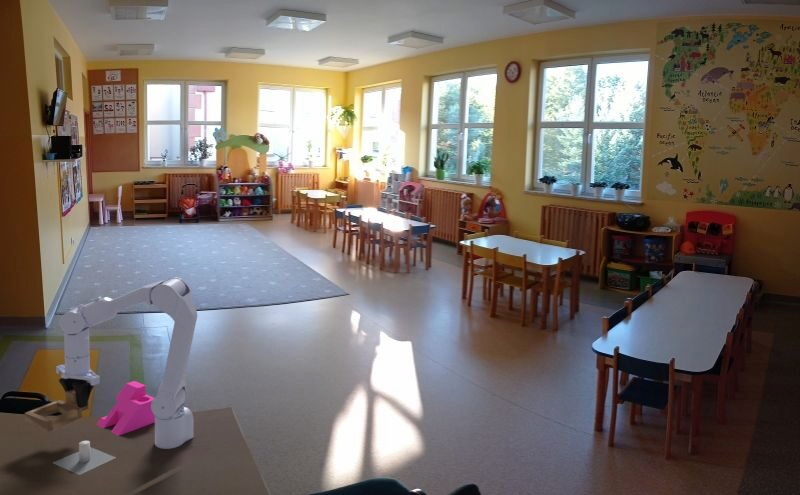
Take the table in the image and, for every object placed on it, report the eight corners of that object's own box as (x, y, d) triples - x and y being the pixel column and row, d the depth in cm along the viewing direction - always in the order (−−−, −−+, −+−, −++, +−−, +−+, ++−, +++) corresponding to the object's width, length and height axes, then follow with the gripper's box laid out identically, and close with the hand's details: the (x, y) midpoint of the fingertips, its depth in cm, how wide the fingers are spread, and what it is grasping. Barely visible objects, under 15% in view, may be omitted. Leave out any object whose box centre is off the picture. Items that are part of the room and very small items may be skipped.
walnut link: (73, 403, 168) (72, 383, 166) (96, 411, 163) (95, 391, 162) (25, 422, 156) (23, 401, 155) (48, 431, 152) (46, 410, 151)
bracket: (134, 414, 182) (134, 380, 181) (156, 425, 177) (156, 390, 175) (95, 428, 172) (94, 393, 171) (117, 440, 167) (116, 403, 165)
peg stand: (89, 450, 160) (89, 430, 159) (116, 461, 156) (116, 440, 155) (52, 466, 151) (51, 445, 151) (79, 479, 147) (79, 456, 146)
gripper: (44, 353, 161) (45, 403, 163) (81, 365, 155) (82, 417, 157) (69, 346, 168) (70, 394, 170) (106, 357, 161) (107, 407, 163)
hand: (78, 405), depth 164 cm, fingers closed on walnut link, 3 cm apart
